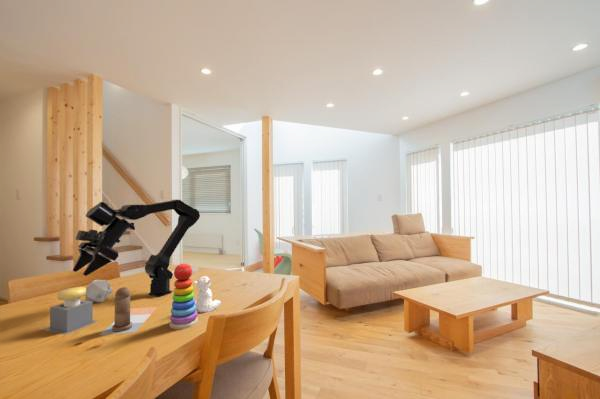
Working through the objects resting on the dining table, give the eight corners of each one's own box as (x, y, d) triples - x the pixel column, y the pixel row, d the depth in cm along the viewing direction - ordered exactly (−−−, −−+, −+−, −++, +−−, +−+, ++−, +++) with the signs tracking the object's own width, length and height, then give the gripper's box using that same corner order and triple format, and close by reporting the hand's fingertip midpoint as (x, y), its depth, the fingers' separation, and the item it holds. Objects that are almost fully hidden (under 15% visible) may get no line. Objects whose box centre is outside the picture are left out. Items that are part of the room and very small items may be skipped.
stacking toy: (175, 320, 86) (175, 261, 87) (201, 319, 87) (201, 260, 87) (164, 332, 78) (165, 266, 79) (193, 331, 79) (194, 266, 79)
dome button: (76, 310, 85) (76, 286, 85) (90, 312, 83) (91, 287, 83) (52, 318, 79) (52, 292, 79) (67, 320, 77) (67, 294, 77)
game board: (129, 310, 94) (129, 308, 94) (157, 309, 96) (157, 306, 96) (98, 337, 75) (98, 334, 75) (134, 335, 77) (134, 332, 77)
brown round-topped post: (125, 323, 82) (125, 284, 83) (135, 326, 80) (136, 286, 81) (108, 330, 78) (109, 288, 78) (119, 333, 76) (119, 290, 76)
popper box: (77, 320, 87) (77, 297, 87) (98, 323, 84) (98, 300, 84) (43, 332, 78) (43, 308, 78) (65, 337, 75) (65, 311, 76)
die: (88, 308, 98) (108, 284, 101) (71, 295, 100) (92, 272, 103) (103, 309, 106) (121, 286, 109) (87, 296, 107) (106, 275, 110)
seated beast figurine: (221, 305, 100) (221, 272, 100) (218, 314, 91) (218, 278, 92) (193, 306, 98) (193, 273, 98) (188, 316, 90) (188, 279, 90)
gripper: (81, 219, 99) (45, 258, 91) (103, 221, 88) (64, 264, 80) (109, 236, 106) (77, 273, 98) (132, 240, 95) (99, 281, 87)
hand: (79, 273), depth 90 cm, fingers open, 9 cm apart
